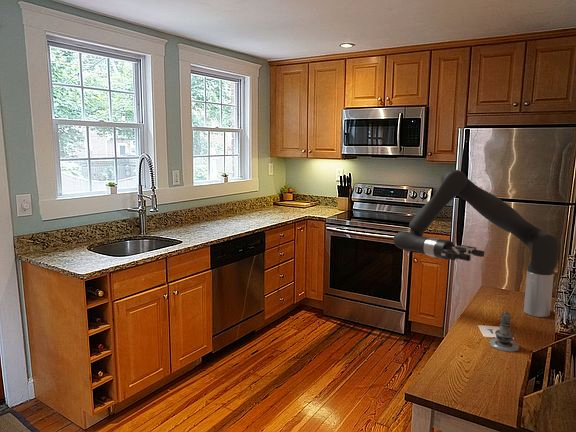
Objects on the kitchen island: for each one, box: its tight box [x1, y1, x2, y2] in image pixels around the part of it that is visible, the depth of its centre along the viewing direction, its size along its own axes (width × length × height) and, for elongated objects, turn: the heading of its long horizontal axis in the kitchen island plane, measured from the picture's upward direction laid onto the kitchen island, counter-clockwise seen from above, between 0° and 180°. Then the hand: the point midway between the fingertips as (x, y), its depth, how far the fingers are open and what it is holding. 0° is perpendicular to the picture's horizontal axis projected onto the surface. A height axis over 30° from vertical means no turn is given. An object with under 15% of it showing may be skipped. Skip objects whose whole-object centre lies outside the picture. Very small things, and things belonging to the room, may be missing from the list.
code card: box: [477, 324, 515, 340], centre depth 158 cm, size 10×10×1 cm
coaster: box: [489, 338, 520, 353], centre depth 148 cm, size 9×9×1 cm
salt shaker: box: [495, 310, 515, 347], centre depth 147 cm, size 6×6×12 cm
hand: (476, 256), depth 157 cm, fingers open, 8 cm apart
